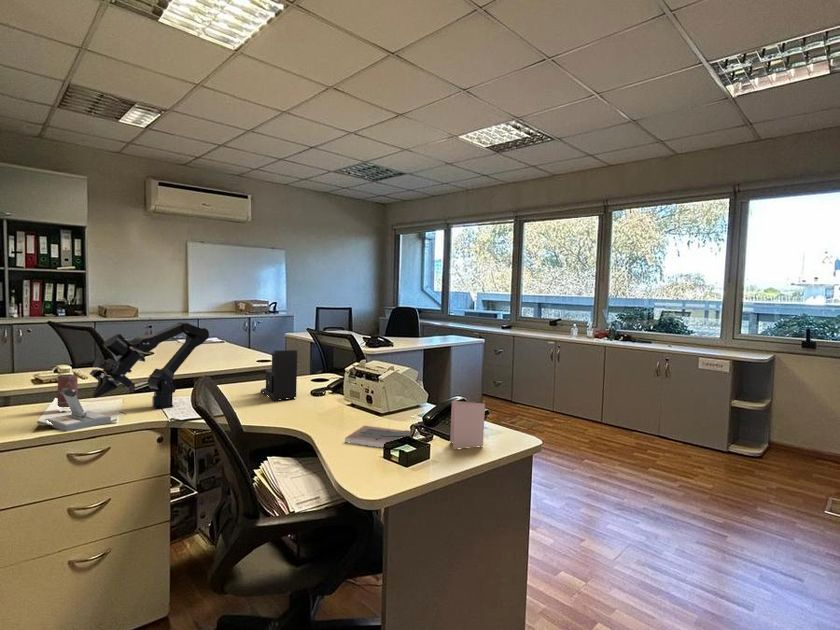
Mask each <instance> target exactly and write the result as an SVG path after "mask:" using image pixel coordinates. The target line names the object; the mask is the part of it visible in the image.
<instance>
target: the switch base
mask: <svg viewBox="0 0 840 630" xmlns="http://www.w3.org/2000/svg"><path fill="white" fill-rule="evenodd" d="M84 412H85V413H86V417H84V418H81V417H77V416H74V415H72V413H71V414H67V415H61V416H56V417H50V418H45V421H46V420H48V421H49V422H51V423H52V424H53V426H52V427H51V428H54V429H57V430H61V431H63V432H71V431H75V430H76V431H77V430H81V429H85V428H90V427H96V426H99V425H104V424H105V425H106V424H109V423H111V422H112V417H111V416H110V415H106V414H101V413H98V412H95V411H90V410H89V411H84Z"/></svg>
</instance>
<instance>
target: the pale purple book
mask: <svg viewBox="0 0 840 630" xmlns="http://www.w3.org/2000/svg"><path fill="white" fill-rule="evenodd" d="M411 431H412V430H406V429H405V430H403V429H394V428H386V427H379V426H370V425H363V426H361V427H360V428H358V429H356V430H355V431H353V432H352V433H350V434H348V436H346V437H344V443H345V442H350V443H356V444H355V445H358V444H361V445H360V446H365V445H368V447H372V446H375V448H379V447H381V449H383V448H382V447H383V445H384V444H385V443H386V442H389V441H392V440H396V439H399V438H401V437H404V436H409V435H410V432H411ZM415 432H416V433H415V435H414V437H418V435H419V436H420V431H415ZM350 443H349V444H350Z"/></svg>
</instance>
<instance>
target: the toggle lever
mask: <svg viewBox="0 0 840 630" xmlns="http://www.w3.org/2000/svg"><path fill="white" fill-rule="evenodd" d="M60 393H61V394H62V395H64V397H65V399H66V401H67V403H68V405H69V407H70V409H71V411H72V412H71V414H72V415H74V416H77V417H81V418H84V417H86V413H85V412H86V411H84V408H83V406H82V405H81V402H80V400H79V399H78V395H77V396H76V391H75V390H72V389H68V388H63V389H61V391H60Z"/></svg>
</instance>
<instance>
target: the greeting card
mask: <svg viewBox="0 0 840 630" xmlns="http://www.w3.org/2000/svg"><path fill="white" fill-rule="evenodd" d="M485 410H486V403H480V402H472V401H471V402H469V401H462V400H461V401H459V400H451V414H450V415H451V416H450V417H451V418H450V432H449V433H450V434H449V435H450V437H449V438H450V439H449V443H450V442H453V444H452V450H453V449H458V448H466V447H477V446H483V447H484V436H485V435H484V433H485V431H484V430H485ZM458 450H459V449H458Z"/></svg>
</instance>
